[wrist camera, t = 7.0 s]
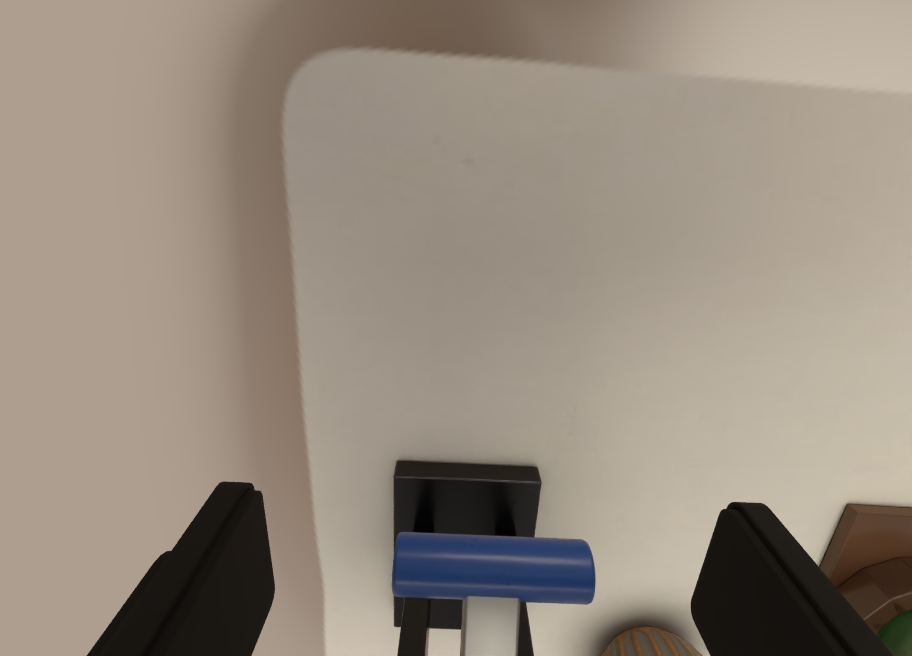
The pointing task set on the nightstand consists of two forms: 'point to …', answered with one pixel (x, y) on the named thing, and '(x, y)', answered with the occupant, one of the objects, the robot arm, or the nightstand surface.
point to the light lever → (492, 580)
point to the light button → (898, 634)
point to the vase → (649, 644)
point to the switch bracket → (459, 530)
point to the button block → (873, 561)
